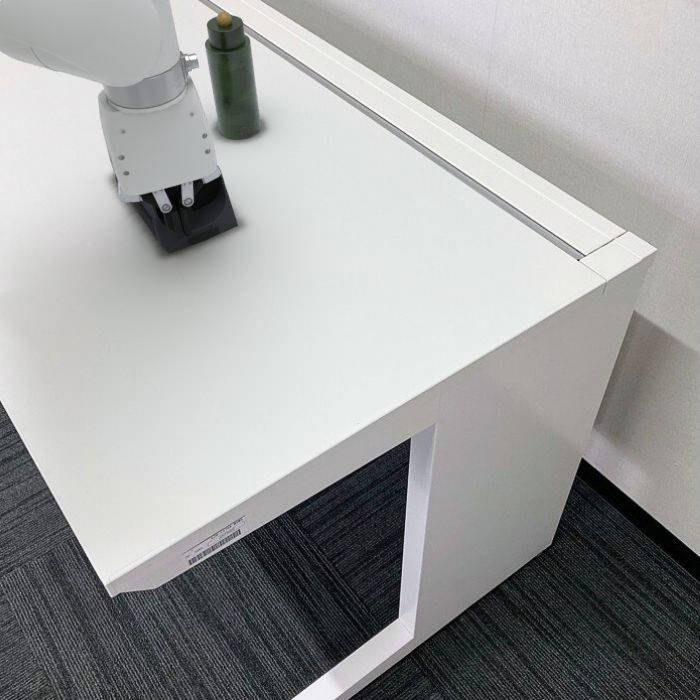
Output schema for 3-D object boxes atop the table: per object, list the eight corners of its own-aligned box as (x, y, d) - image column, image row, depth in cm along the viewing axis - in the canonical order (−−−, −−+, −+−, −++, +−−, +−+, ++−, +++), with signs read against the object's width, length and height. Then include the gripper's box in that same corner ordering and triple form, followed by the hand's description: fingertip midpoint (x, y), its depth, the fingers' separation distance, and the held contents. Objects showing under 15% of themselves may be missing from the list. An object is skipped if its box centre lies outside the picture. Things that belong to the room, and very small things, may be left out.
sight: (176, 152, 100) (160, 81, 92) (239, 226, 89) (226, 153, 82) (108, 176, 96) (86, 104, 89) (165, 255, 86) (146, 182, 79)
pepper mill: (226, 143, 101) (207, 26, 89) (214, 122, 104) (194, 7, 92) (266, 133, 102) (253, 17, 90) (253, 112, 106) (238, -2, 94)
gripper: (209, 42, 75) (236, 193, 89) (55, 77, 71) (108, 230, 85) (233, 78, 70) (257, 232, 84) (69, 118, 67) (122, 272, 80)
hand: (182, 230), depth 85 cm, fingers closed
